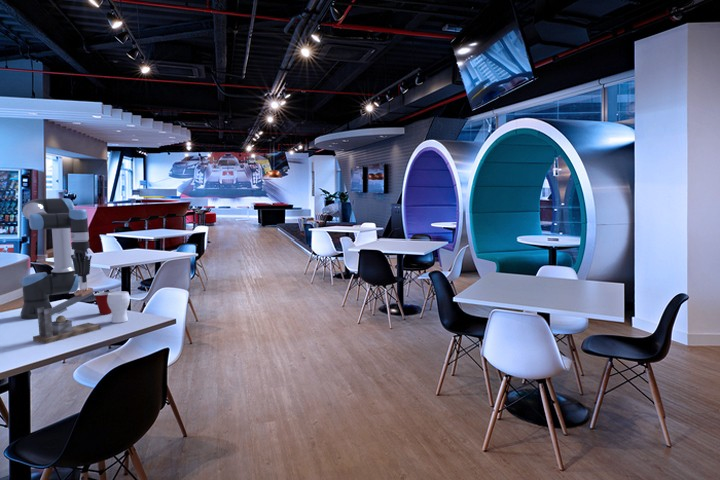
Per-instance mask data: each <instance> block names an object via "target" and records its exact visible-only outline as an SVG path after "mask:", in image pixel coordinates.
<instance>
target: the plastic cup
mask: <svg viewBox="0 0 720 480" xmlns="http://www.w3.org/2000/svg"><path fill="white" fill-rule="evenodd" d="M112 292H113V291H105V292H97V293H93V296H94V298H95V301H96V304H97V309H98V312H99V314H100V315H101V316H102V315H103V316H105V314H106V315H110V313H111V314H112V311H111V309H110V308H109V306H108V303H107V297H108V294H109V293H112Z"/></svg>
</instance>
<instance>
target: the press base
mask: <svg viewBox="0 0 720 480" xmlns="http://www.w3.org/2000/svg"><path fill="white" fill-rule="evenodd" d="M37 310H38V318H37V320H38V321H37V323H38V334H37V335H34V336H33V335H32V341H34V342H36V343H41V344H43V345H44V344H46V345H47V344H50V343H54V342H58V341H63V340H66V339H69V338H73V337H76V336H80V335H83V334H88V333H91V332H95V331H98V330H102V329H101V325H100V324H97V323H93V322H85V323H81V324H77V325H74V326H73V321H72V320H71V319H66V321H65V322H63V323H57V322H56V320H54V321H53V317H52V315H51V309H50V308H49V309H44V307H41V308H37ZM42 312H44V316H43V314H42Z"/></svg>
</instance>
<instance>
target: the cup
mask: <svg viewBox="0 0 720 480" xmlns="http://www.w3.org/2000/svg"><path fill="white" fill-rule="evenodd" d="M111 292H112V293H109V294H108V297H107V303H108V306H109V308H110V309H111V311H112V313H111V323H113V324H118V323H125V322H127V321H128V320H129V318H128V314H127V312H128V308H129V305H130V301H131V296H130V294H129V291H122V290H121V291H119V290H118V291H111Z"/></svg>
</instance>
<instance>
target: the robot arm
mask: <svg viewBox="0 0 720 480" xmlns="http://www.w3.org/2000/svg"><path fill="white" fill-rule="evenodd" d="M74 205H75V204H74V202H73V201H72V200H71V198H67V197H66V198H64V197H63V198H62V197H61V198H60V197H59V198H58V197H57V198H56V197H54V198H35V199H31V200H29V201H28V202H26V203H25V204H24V205H23V206H22V208H21V212H22V215H23V216H24V217H25V219H26V220H28V223H29V229H31V230H33V231H34V230H35V231H37V230H38V231H41V230H51V234H52V249H53V250H52V251H53V269H52V270H50V273H51V274H48V273H47V272H46V271H43V272H35V273H30V274H28V275H25V276H23V277H22V280H21V287H22V299H23V301H22V302H23V303H22V307H21V311H20V318H21V319H25V320H32V319H38V310H37V308H41V307H44V309H49V308H53V305H52V303H51V302H50V298H49V297H50V296H53V295H55V296H56V295H62V294H71V293H74V292H76V291H78V290H80V289H81V290H82V289H87V287H88V285H87V284H88V283H87V282H88V279H87V276H88V275H90V272H91V271H90V270H91V259H92V258H93V255H89V253H88V249H90V241H89V240H90V236H89V235H90V234H89V222H88V211H87V210H86V208H85V209H84V208H80V209H79V208H78V209H77V208H76V209H75V206H74ZM72 250H73V254H72Z"/></svg>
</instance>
